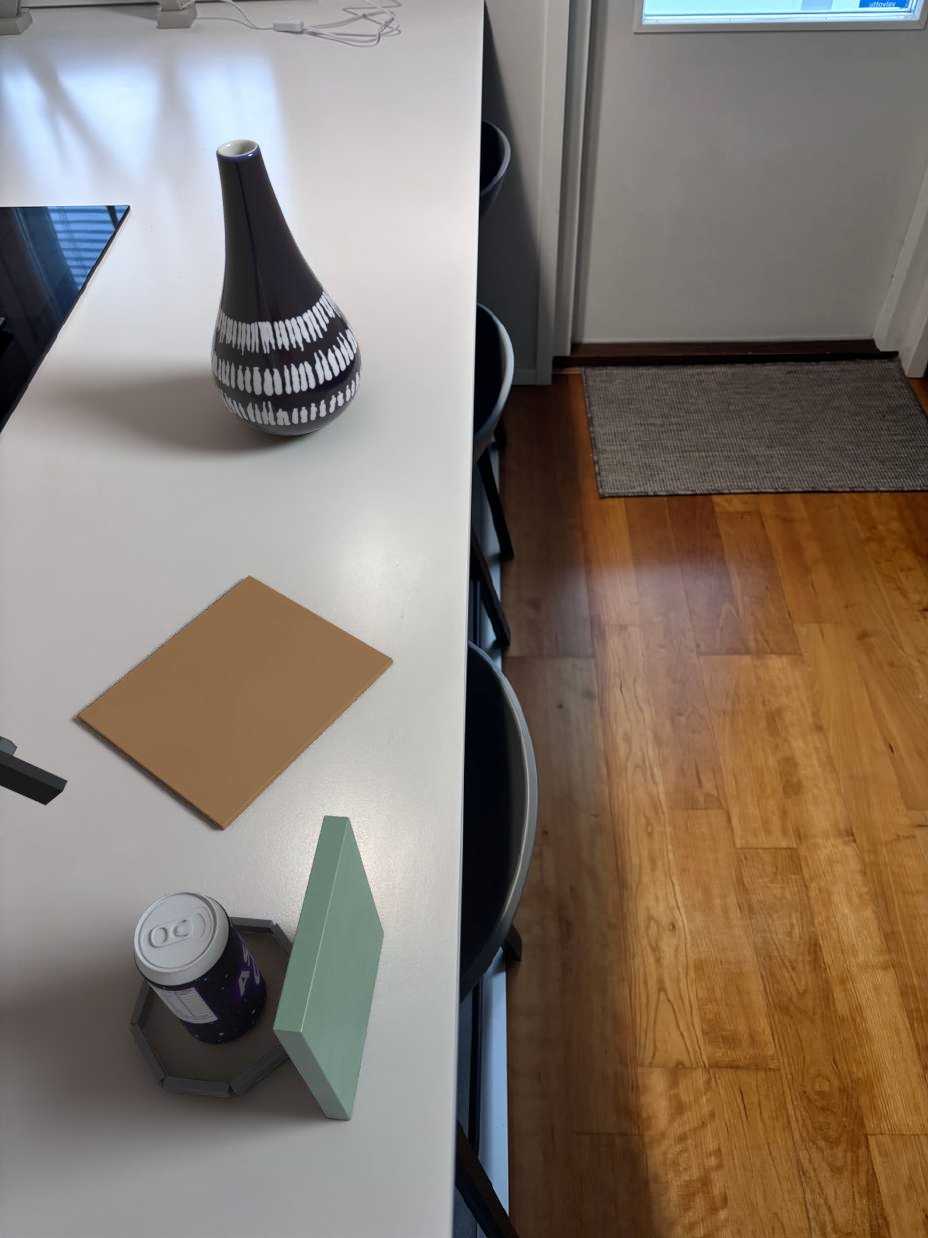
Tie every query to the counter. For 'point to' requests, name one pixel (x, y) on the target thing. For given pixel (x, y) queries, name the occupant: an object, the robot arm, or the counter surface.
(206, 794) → the cork mat
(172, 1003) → the beverage can
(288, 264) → the vase
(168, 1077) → the green panel with ring
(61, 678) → the counter surface
